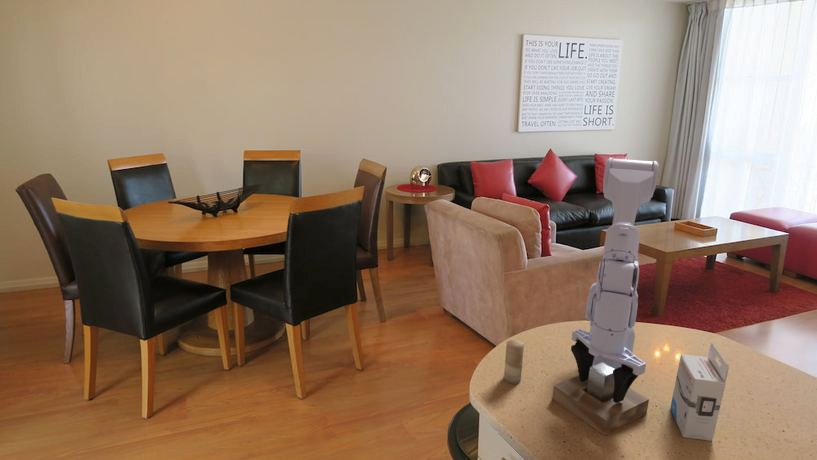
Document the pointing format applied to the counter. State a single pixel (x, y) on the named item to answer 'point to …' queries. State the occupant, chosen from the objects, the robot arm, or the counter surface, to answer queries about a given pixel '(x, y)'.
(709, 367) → the ink box
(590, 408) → the bore block
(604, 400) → the square bit
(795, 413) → the counter surface
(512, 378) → the round dowel
